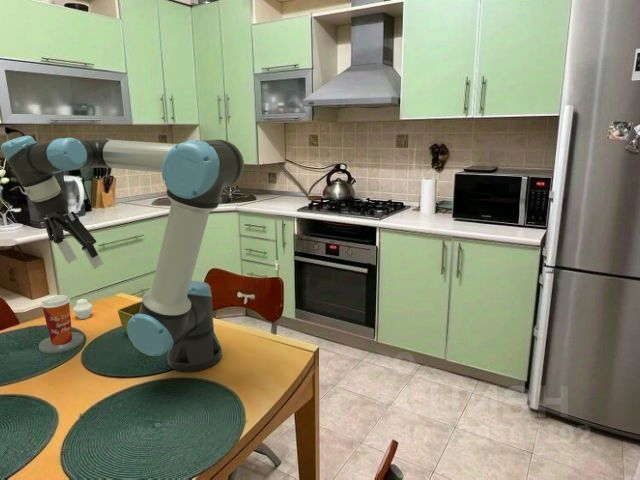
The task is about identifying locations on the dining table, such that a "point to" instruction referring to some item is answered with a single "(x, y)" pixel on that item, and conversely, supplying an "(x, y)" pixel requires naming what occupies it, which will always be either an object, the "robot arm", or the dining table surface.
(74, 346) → the coaster
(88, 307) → the muffin
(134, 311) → the flower pot
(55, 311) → the paper cup
